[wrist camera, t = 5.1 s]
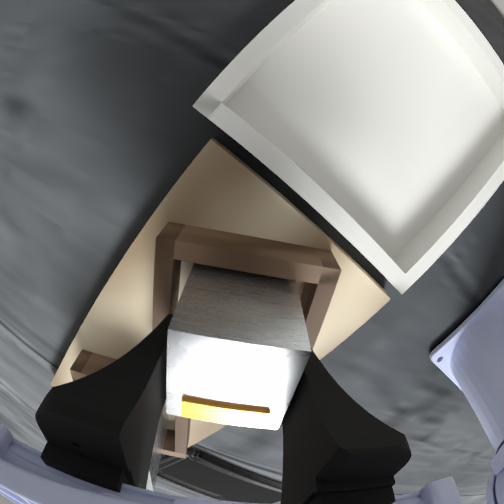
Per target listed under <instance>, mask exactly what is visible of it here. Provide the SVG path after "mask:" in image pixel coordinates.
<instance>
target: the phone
mask: <svg viewBox="0 0 504 504" xmlns="http://www.w3.org/2000/svg"><path fill="white" fill-rule="evenodd" d="M157 476H159V477H161V478H164V479H166V480H168V481H170V482H173V483H175V484H178V485H180V486H182V487H185V488H187V489H190V490H193V491H195V492H198V493H200V494H203V495H206V496H209V497H212V498H215V499H218V500H222V501H232V502H244V503H260V504H272V503H276V502H279V501H281V494H282V484H281V483H278V482H275V481H272V480H270V479H267V478H264V477H261V476H258V475H256V474H253V473H250V472H248V471H245V470H243V469H240V468H238V467H235V466H233V465H231V464H228V463H226V462H224V461H221V460H219V459H217V458H215V457H212V456H210V455H208V454H206V453H204V452H202V451H199V450H197V449H191V448H187V453H186V459H184V458H179V457H174V456H169V455H168V456H166V457H164V458H161V459H160V464H159V468H158V473H157Z"/></svg>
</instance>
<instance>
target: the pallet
mask: <svg viewBox="0 0 504 504" xmlns="http://www.w3.org/2000/svg"><path fill="white" fill-rule="evenodd" d="M194 263H198V264H204V265H209V266H215V267H220V268H226V269H232V270H237V271H243V272H249V273H255V274H261V275H266V276H272V277H278V278H284V279H290V280H296V284H297V288H298V293H299V297H300V301H301V306H302V310H303V315H304V319H305V324H306V328H307V333H308V338H309V342H310V347H311V348H312V350H313V351H314V353H315V354H316V356H317V357H318V359H319V360H320V359H321V358H323V357H324V356H325V355H327V354H328V353H329V352H330V351H332V350H333V349H334V348H335V347H336V346H338V345H339V344H340V343H341V342H343V341H344V340H345V339H346V338H347V337H349V336H350V335H351V334H352V333H353V332H354V331H356V330H357V329H358V328H359V327H360V326H361V325H363V324H364V323H365V322H366V321H367V320H368V319H369V318H371V317H372V316H373V315H374V314H375V313H376V312H377V311H378V310H379V309H381V308H382V307H383V306H384V305H385V304H386V303H387V302H388V301H389V300H390V297H389V296H388V294H387V293H386V291H385V290H384V289H383V288H382V287H381V286H380V285H379V284H378V283H377V282H376V281H375V280H374V279H373V278H372V277H371V276H370V275H369V274H368V273H367V272H366V271H365V270H364V269H363V268H362V267H361V266H360V265H359V264H358V263H357V262H356V261H354V260H353V259H352V258H351V257H350V256H349V255H348V254H347V253H346V252H345V251H344V250H343V249H342V248H341V247H340V246H339V245H337V244H336V243H335V242H334V241H333V240H332V239H331V238H330V237H329V236H328V235H327V234H326V233H325V232H323V231H322V230H321V229H320V228H319V227H318V226H317V225H316V224H315V223H314V222H312V221H311V220H310V219H309V218H308V217H307V216H306V215H305V214H304V213H302V212H301V211H300V210H299V209H298V208H297V207H296V206H294V205H293V204H292V203H291V202H290V201H289V200H288V199H287V198H285V197H284V196H283V195H282V194H281V193H280V192H278V191H277V190H276V189H275V188H274V187H273V186H271V185H270V184H269V183H268V182H267V181H266V180H264V179H263V178H262V177H261V176H260V175H259V174H257V173H256V172H255V171H254V170H253V169H251V168H250V167H249V166H248V165H247V164H245V163H244V162H243V161H242V160H241V159H239V158H238V157H237V156H236V155H234V154H233V153H232V152H231V151H230V150H228V149H227V148H226V147H225V146H223V145H222V144H221V143H220V142H218V141H217V140H216V139H215V138H212V139H210V140H209V142H208V143H207V144H206V145H205V147H204V148H203V149H202V150H201V151H200V153H199V154H198V155H197V156H196V158H195V159H194V160H193V161H192V163H191V164H190V165H189V166H188V168H187V169H186V170H185V172H184V173H183V174H182V175H181V177H180V178H179V179H178V181H177V182H176V183H175V185H174V186H173V187H172V189H171V190H170V191H169V192H168V194H167V195H166V197H165V198H164V199H163V201H162V202H161V203H160V205H159V206H158V207H157V209H156V210H155V212H154V213H153V214H152V216H151V217H150V219H149V220H148V221H147V223H146V224H145V226H144V227H143V229H142V230H141V231H140V233H139V234H138V236H137V237H136V239H135V240H134V242H133V243H132V245H131V246H130V248H129V249H128V251H127V252H126V254H125V255H124V257H123V258H122V260H121V261H120V263H119V264H118V266H117V267H116V269H115V271H114V272H113V274H112V275H111V277H110V278H109V280H108V282H107V283H106V285H105V286H104V288H103V290H102V291H101V293H100V295H99V296H98V298H97V300H96V301H95V303H94V305H93V306H92V308H91V310H90V311H89V313H88V315H87V317H86V318H85V320H84V322H83V324H82V325H81V327H80V329H79V331H78V333H77V334H76V336H75V338H74V340H73V342H72V343H71V345H70V347H69V349H68V351H67V353H66V355H65V357H64V359H63V360H62V362H61V364H60V366H59V368H58V370H57V372H56V374H55V376H54V378H53V380H52V382H51V384H50V385H51V386H53V387H55V386H59V385H62V384H65V383H69V382H72V381H75V380H78V379H80V378H83V377H85V376H88V375H90V374H92V373H94V372H96V371H98V370H100V369H102V368H104V367H106V366H107V365H109V364H111V363H112V362H114V361H116V360H117V359H119V358H120V357H122V356H123V355H124V354H126V353H127V352H128V351H130V350H131V349H132V348H133V347H135V346H136V345H137V344H138V343H140V342H141V341H142V340H143V339H144V338H145V337H146V336H147V335H148V334H149V333H151V332H152V331H153V330H154V329H155V328H156V327H157V326H158V325H159V323H160V322H161V321H162V320H163V319H164V318H165V317H166V316H167V315H168V314H174V311H175V309H176V306H177V304H178V301H179V299H180V296H181V294H182V291H183V289H184V286H185V284H186V281H187V279H188V276H189V274H190V271H191V269H192V266H193V264H194ZM165 404H166V401H165ZM226 425H227V424H222V423H215V422H209V421H203V420H197V419H191V418H186V417H181V416H176V415H171V414H169V425H168V430H167V434H166V438H165V442H164V446H163V451H162V454H165V455H169V456H174V457H179V458H184V459H186V453H187V448H188V447H190V446H192V445H194V444H196V443H197V442H199V441H201V440H203V439H204V438H206V437H208V436H209V435H211V434H213V433H214V432H216V431H218V430H219V429H221V428H223V427H224V426H226Z"/></svg>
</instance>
